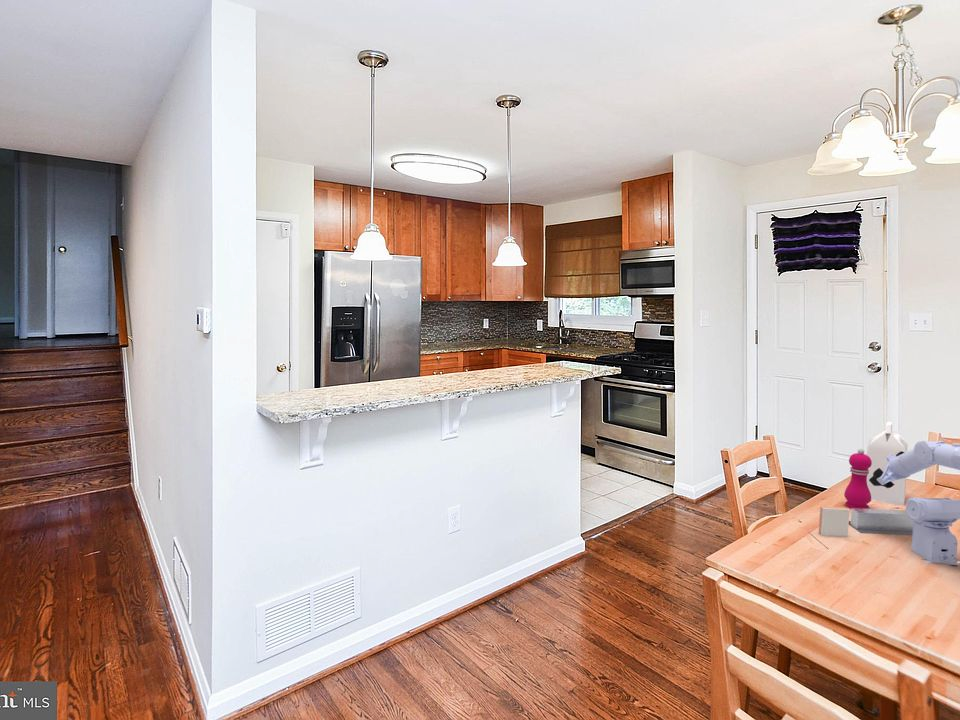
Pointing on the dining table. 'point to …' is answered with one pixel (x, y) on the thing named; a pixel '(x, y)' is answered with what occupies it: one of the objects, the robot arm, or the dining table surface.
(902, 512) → the bar
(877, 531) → the board
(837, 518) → the tile
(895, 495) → the milk
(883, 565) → the dining table surface
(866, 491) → the pepper mill
